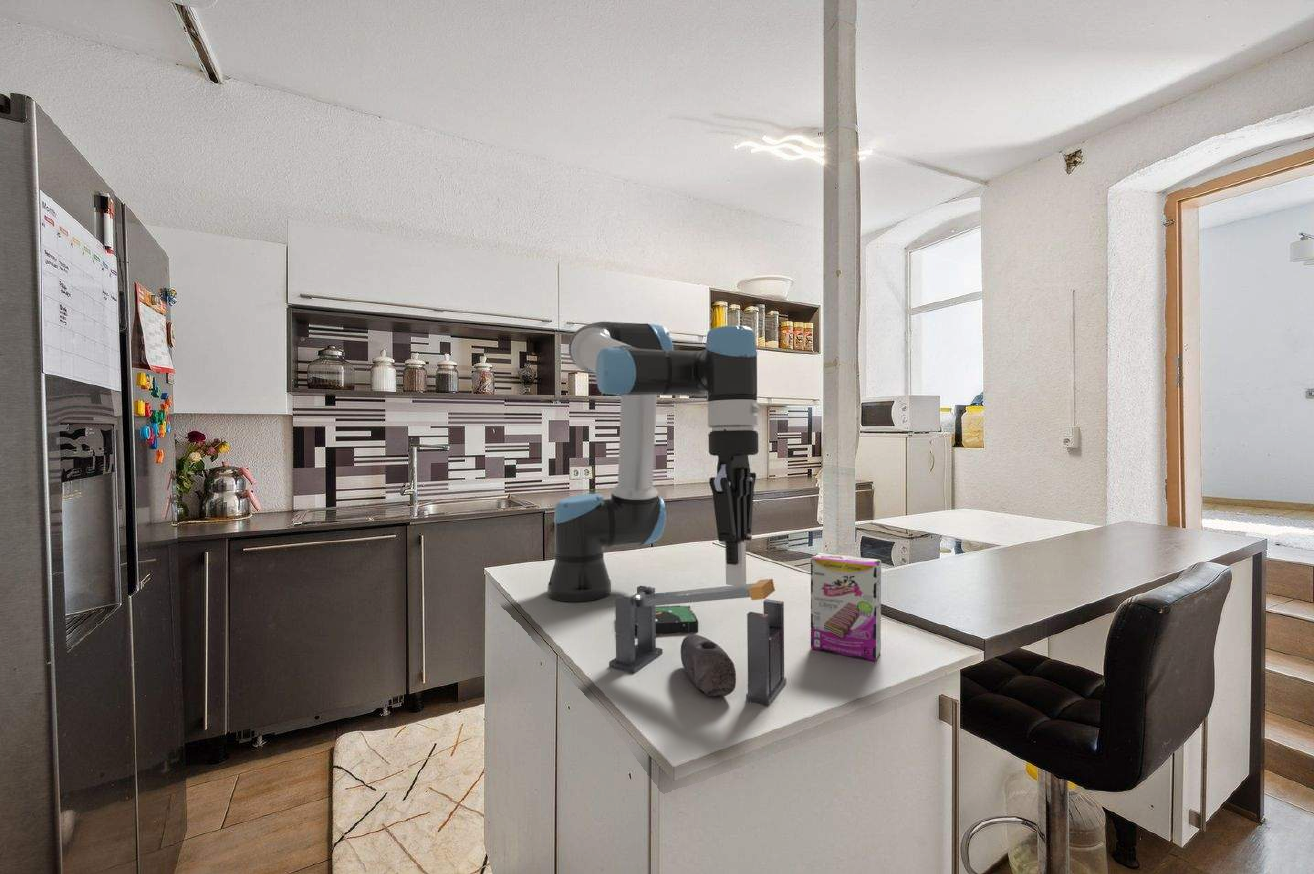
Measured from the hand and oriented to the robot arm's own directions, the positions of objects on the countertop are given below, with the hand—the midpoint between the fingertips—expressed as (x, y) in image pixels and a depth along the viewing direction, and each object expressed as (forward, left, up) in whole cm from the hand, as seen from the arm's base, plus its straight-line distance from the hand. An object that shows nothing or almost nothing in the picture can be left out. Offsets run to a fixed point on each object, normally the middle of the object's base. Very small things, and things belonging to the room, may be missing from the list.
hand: (736, 584), depth 84 cm
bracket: (0, -18, -15) cm, 24 cm away
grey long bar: (0, -7, -4) cm, 8 cm away
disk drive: (-17, -24, -16) cm, 33 cm away
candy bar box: (-21, +12, -16) cm, 29 cm away
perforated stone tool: (+2, -5, -16) cm, 17 cm away
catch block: (0, +5, -15) cm, 16 cm away
